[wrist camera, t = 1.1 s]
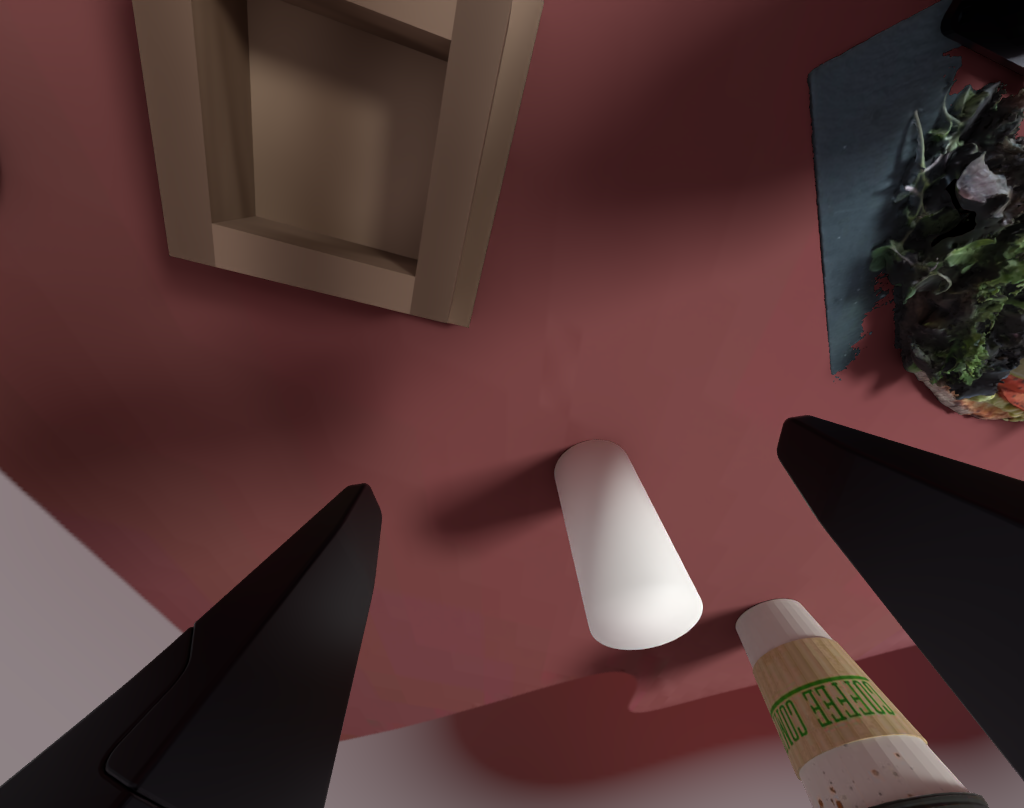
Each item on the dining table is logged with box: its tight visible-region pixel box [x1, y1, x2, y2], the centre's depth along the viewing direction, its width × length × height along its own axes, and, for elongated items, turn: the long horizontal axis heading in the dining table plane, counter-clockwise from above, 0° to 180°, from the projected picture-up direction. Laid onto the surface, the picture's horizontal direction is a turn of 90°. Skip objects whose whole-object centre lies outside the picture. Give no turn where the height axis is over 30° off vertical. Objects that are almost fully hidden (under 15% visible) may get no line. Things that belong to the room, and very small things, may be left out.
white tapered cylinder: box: [554, 440, 703, 650], centre depth 21 cm, size 5×5×10 cm
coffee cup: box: [736, 599, 989, 808], centre depth 30 cm, size 10×10×15 cm
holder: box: [132, 0, 544, 328], centre depth 14 cm, size 12×12×4 cm
